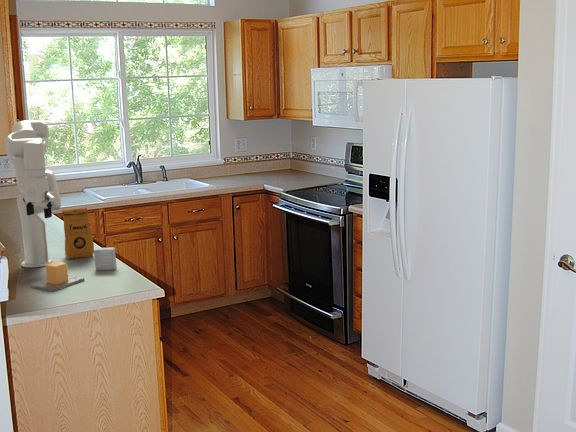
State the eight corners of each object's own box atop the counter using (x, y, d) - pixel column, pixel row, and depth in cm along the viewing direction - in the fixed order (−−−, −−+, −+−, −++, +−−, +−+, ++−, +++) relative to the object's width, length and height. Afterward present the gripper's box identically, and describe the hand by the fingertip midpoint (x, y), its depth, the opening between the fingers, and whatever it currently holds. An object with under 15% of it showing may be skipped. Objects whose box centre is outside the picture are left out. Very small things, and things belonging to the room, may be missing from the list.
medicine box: (116, 267, 294) (115, 247, 292) (114, 270, 290) (113, 249, 288) (97, 267, 294) (96, 247, 292) (95, 270, 289) (93, 250, 288)
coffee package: (95, 258, 310) (91, 209, 306) (65, 261, 306) (61, 211, 302) (93, 253, 319) (90, 205, 315) (65, 255, 315) (61, 207, 311)
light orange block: (46, 282, 270) (45, 265, 269) (58, 278, 275) (56, 261, 274) (57, 284, 267) (55, 266, 266) (68, 280, 272) (66, 263, 271)
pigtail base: (30, 287, 268) (29, 271, 266) (63, 276, 281) (61, 261, 280) (52, 291, 262) (50, 274, 260) (84, 280, 275) (83, 264, 274)
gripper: (12, 172, 271) (16, 215, 275) (44, 176, 263) (47, 220, 267) (27, 169, 278) (31, 211, 282) (59, 173, 270) (62, 216, 274)
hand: (39, 216), depth 275 cm, fingers open, 9 cm apart
